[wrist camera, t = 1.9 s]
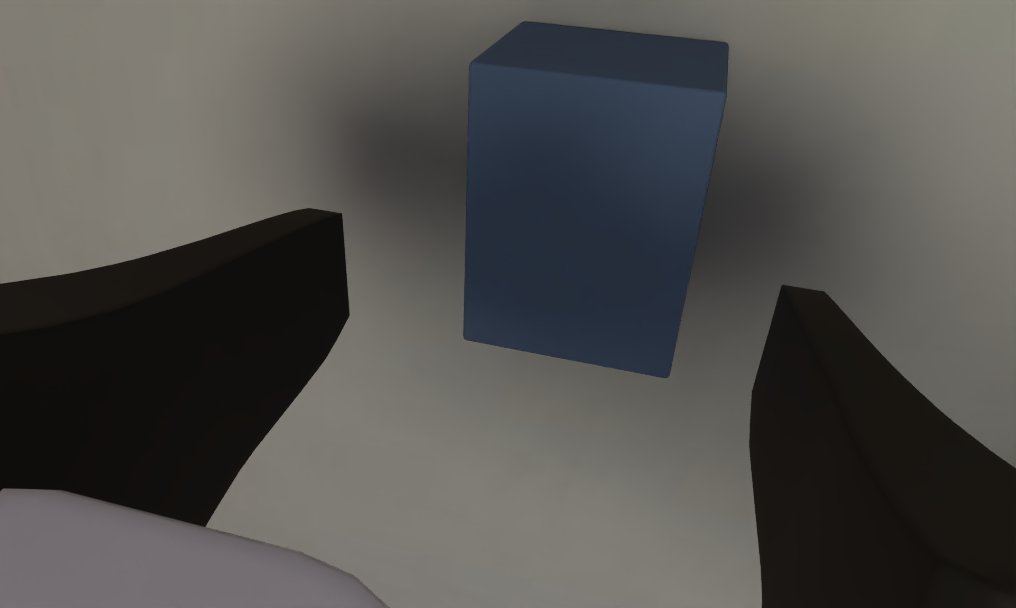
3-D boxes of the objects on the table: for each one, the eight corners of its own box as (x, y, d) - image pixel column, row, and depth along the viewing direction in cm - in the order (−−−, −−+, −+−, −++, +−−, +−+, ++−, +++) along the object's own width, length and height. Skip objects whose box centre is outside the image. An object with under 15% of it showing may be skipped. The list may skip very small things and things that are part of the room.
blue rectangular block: (680, 287, 19) (668, 380, 16) (508, 258, 20) (462, 340, 16) (729, 42, 16) (727, 92, 12) (521, 20, 17) (467, 61, 13)
